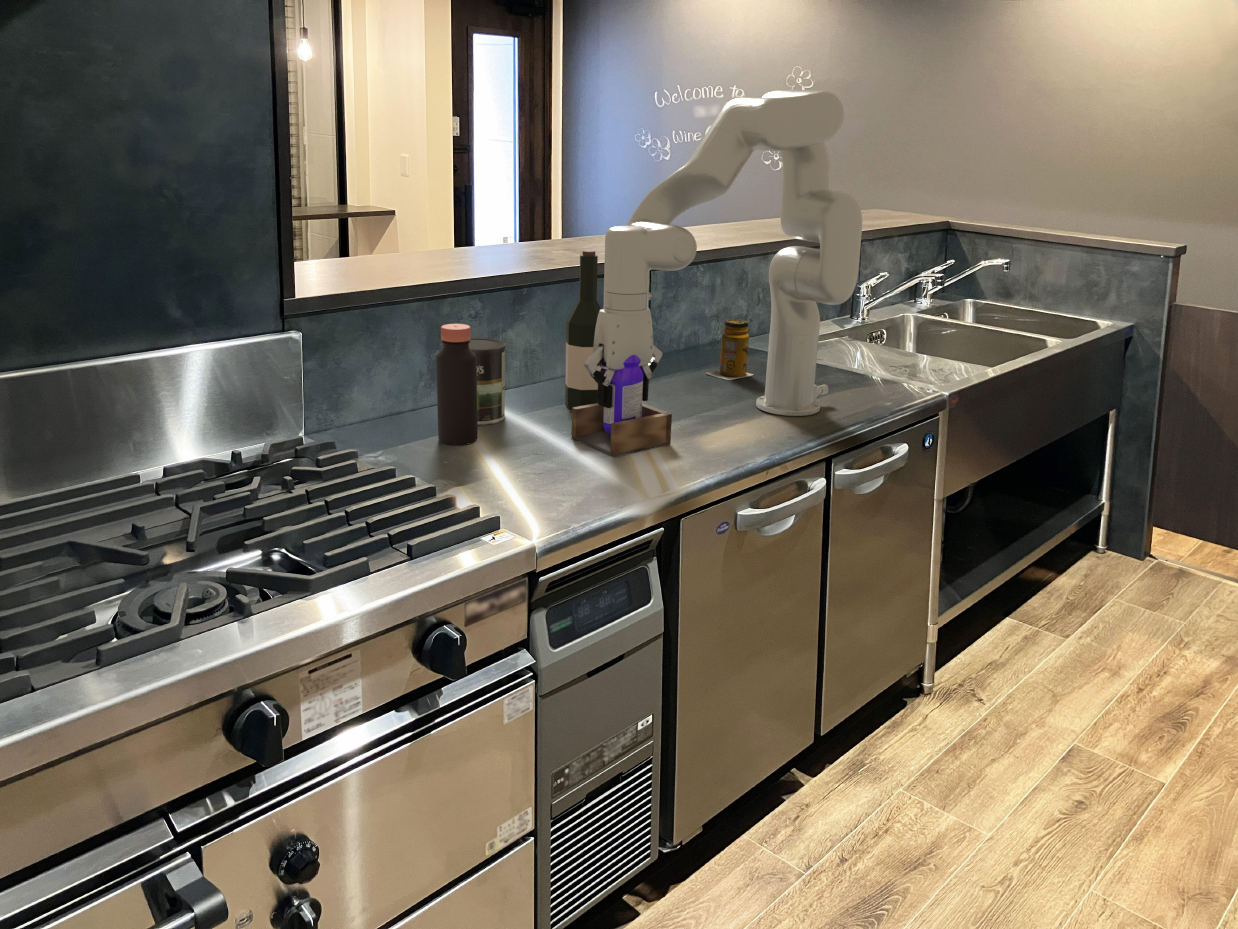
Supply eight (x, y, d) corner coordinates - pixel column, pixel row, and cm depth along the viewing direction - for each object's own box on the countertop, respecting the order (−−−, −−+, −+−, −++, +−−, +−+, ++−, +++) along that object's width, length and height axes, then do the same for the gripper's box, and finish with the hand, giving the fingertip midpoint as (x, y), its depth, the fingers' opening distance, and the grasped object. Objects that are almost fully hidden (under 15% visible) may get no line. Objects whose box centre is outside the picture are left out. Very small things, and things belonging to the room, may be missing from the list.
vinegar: (443, 447, 177) (440, 331, 170) (434, 436, 183) (430, 323, 176) (482, 443, 179) (480, 329, 173) (471, 432, 185) (469, 321, 179)
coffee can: (489, 428, 188) (489, 352, 183) (439, 420, 191) (438, 345, 187) (515, 414, 197) (515, 341, 192) (467, 407, 200) (466, 335, 196)
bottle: (620, 423, 187) (623, 328, 181) (647, 429, 184) (650, 332, 178) (597, 433, 181) (599, 335, 175) (623, 439, 178) (626, 339, 172)
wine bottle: (601, 412, 200) (605, 255, 190) (559, 409, 201) (561, 252, 191) (610, 401, 207) (615, 249, 198) (570, 398, 209) (572, 246, 199)
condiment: (754, 375, 232) (758, 322, 228) (729, 381, 226) (733, 326, 222) (729, 368, 237) (732, 316, 233) (704, 374, 231) (707, 321, 227)
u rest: (626, 427, 191) (627, 397, 189) (670, 444, 182) (671, 414, 180) (571, 438, 184) (572, 407, 182) (614, 457, 175) (615, 425, 173)
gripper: (651, 293, 183) (647, 390, 189) (570, 302, 173) (569, 405, 178) (679, 300, 177) (674, 400, 183) (598, 310, 167) (595, 415, 173)
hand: (623, 402), depth 181 cm, fingers closed on bottle, 7 cm apart
